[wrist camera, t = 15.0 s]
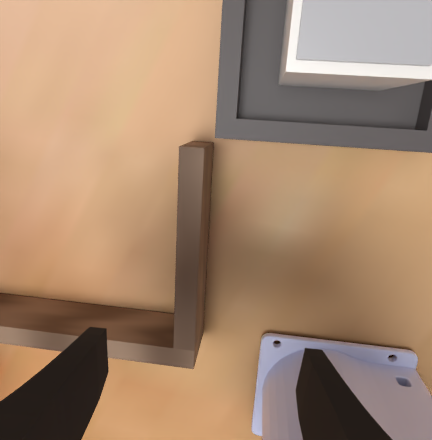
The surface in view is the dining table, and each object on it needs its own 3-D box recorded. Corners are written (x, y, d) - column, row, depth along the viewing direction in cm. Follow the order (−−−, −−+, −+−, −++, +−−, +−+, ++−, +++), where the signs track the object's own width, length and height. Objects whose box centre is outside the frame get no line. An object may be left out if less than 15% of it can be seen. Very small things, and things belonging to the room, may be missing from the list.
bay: (213, 142, 20) (204, 148, 17) (203, 333, 24) (193, 369, 20) (-54, 124, 22) (-111, 125, 18) (-26, 305, 25) (-70, 333, 22)
